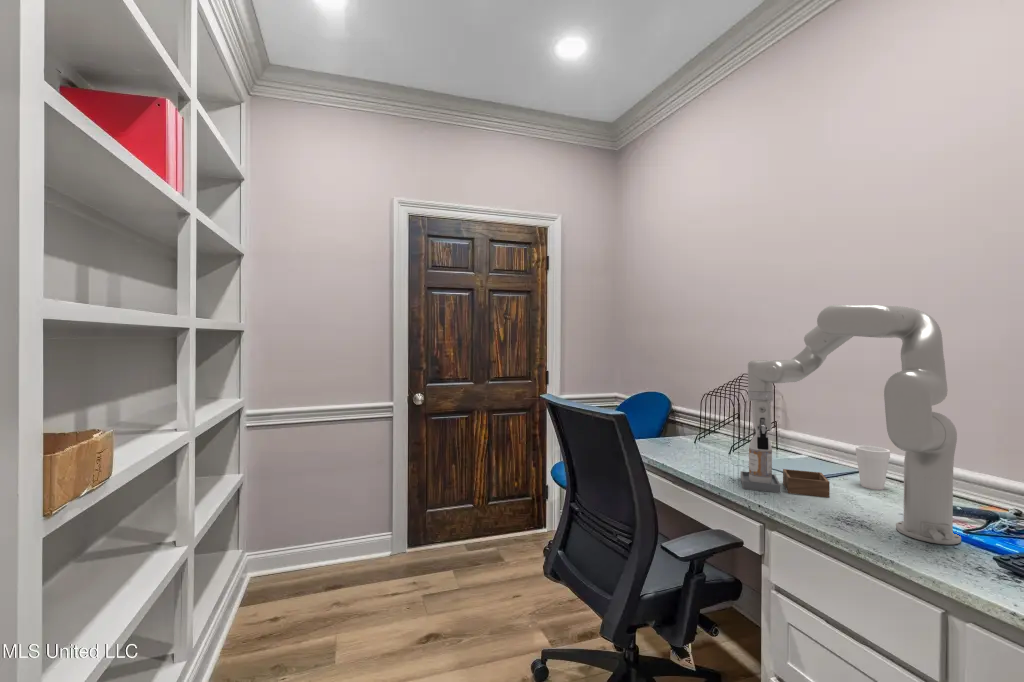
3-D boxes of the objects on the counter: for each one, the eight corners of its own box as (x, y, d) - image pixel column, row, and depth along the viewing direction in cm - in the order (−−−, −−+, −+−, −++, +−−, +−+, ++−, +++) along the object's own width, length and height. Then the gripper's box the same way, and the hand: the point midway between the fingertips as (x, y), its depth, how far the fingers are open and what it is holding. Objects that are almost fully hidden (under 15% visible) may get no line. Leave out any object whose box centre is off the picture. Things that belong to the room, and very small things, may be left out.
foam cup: (896, 492, 156) (896, 452, 156) (864, 490, 158) (864, 451, 158) (879, 483, 166) (880, 446, 165) (850, 481, 167) (850, 445, 167)
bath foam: (744, 480, 165) (744, 422, 165) (760, 478, 167) (760, 421, 167) (760, 485, 158) (760, 426, 158) (776, 484, 160) (776, 425, 160)
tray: (780, 493, 155) (780, 485, 155) (743, 488, 159) (743, 481, 159) (775, 481, 167) (775, 474, 167) (740, 478, 171) (740, 471, 171)
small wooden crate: (829, 497, 151) (829, 481, 151) (788, 493, 155) (788, 477, 155) (821, 487, 161) (821, 472, 161) (782, 483, 165) (783, 469, 165)
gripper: (776, 399, 153) (777, 452, 153) (769, 394, 169) (770, 442, 169) (750, 398, 156) (751, 450, 156) (746, 393, 172) (746, 441, 172)
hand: (761, 446), depth 163 cm, fingers open, 9 cm apart
